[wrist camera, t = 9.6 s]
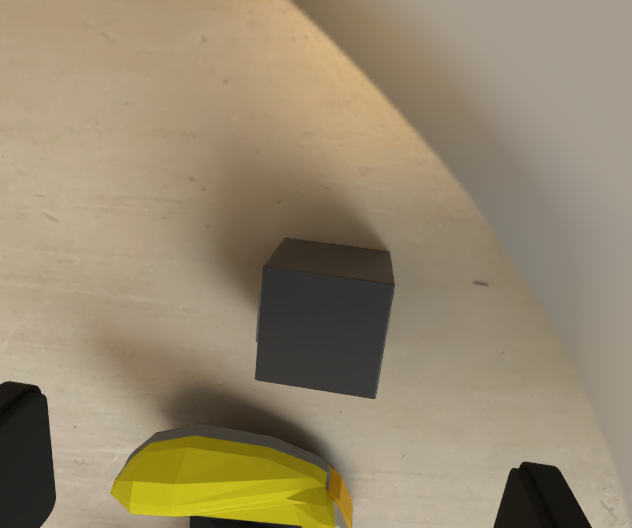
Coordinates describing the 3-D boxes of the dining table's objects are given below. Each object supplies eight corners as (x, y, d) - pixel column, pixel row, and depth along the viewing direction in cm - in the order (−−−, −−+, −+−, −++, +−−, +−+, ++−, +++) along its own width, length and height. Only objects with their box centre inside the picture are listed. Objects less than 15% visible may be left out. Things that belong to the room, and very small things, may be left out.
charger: (390, 251, 19) (395, 284, 15) (374, 347, 20) (375, 399, 16) (280, 236, 19) (256, 265, 15) (272, 331, 20) (249, 379, 16)
